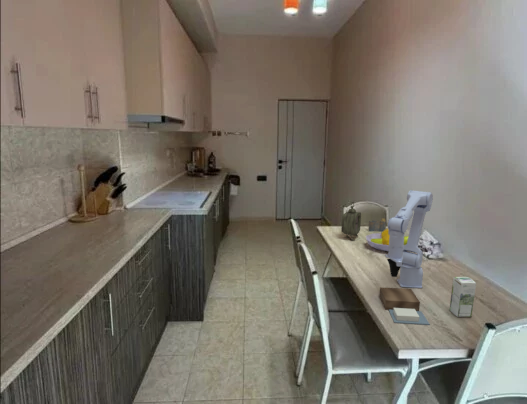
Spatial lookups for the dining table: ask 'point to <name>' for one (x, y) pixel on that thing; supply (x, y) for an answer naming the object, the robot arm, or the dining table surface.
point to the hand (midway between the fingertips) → (393, 276)
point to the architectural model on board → (377, 225)
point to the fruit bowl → (381, 240)
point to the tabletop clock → (351, 222)
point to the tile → (406, 314)
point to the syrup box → (462, 296)
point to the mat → (421, 321)
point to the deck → (398, 298)
